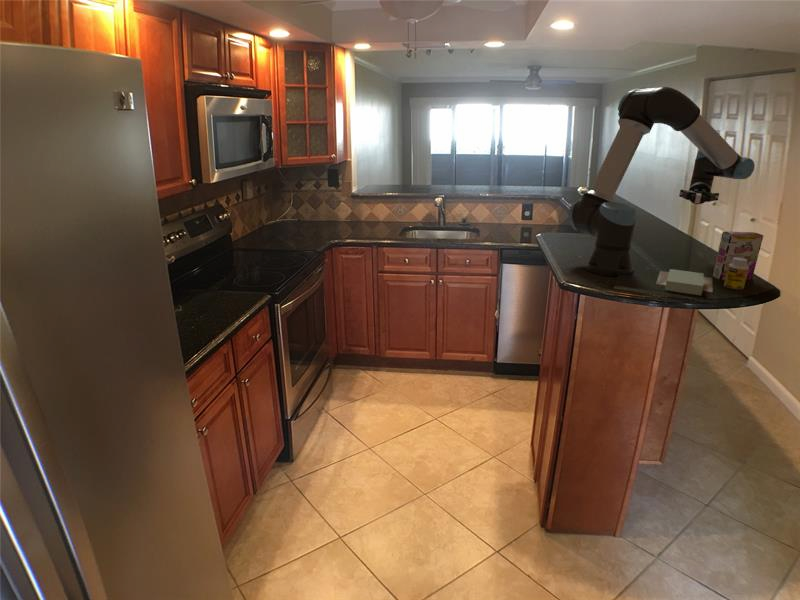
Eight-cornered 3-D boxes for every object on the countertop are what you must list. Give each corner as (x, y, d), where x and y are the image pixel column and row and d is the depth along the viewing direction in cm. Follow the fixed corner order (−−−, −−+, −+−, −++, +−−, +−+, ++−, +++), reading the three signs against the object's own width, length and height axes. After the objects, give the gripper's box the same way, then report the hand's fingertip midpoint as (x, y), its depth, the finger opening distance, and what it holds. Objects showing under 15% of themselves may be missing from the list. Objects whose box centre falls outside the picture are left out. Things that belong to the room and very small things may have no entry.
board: (655, 286, 174) (655, 283, 173) (659, 273, 189) (660, 270, 188) (711, 295, 166) (712, 292, 166) (711, 280, 182) (712, 277, 181)
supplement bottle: (721, 290, 172) (728, 258, 169) (725, 286, 176) (731, 255, 173) (741, 293, 168) (748, 262, 165) (744, 289, 172) (752, 258, 169)
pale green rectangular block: (668, 277, 181) (664, 290, 167) (669, 269, 180) (666, 280, 166) (701, 282, 176) (701, 295, 163) (703, 273, 175) (703, 285, 162)
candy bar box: (720, 282, 180) (730, 234, 174) (711, 278, 184) (721, 231, 179) (752, 283, 180) (764, 234, 175) (743, 278, 185) (754, 231, 179)
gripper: (716, 205, 200) (717, 212, 181) (677, 201, 206) (674, 208, 186) (721, 184, 198) (722, 189, 178) (682, 181, 204) (679, 186, 184)
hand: (697, 199), depth 182 cm, fingers closed
